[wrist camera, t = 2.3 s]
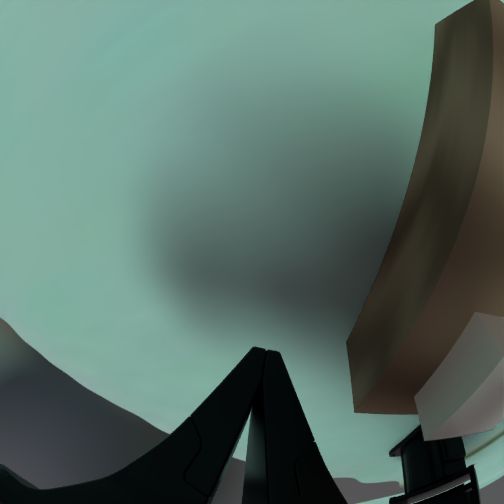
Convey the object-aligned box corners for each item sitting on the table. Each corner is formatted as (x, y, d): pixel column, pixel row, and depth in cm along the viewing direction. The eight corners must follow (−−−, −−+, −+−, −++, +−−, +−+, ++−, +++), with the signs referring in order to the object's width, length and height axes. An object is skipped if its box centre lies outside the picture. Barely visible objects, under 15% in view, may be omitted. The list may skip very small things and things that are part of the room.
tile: (479, 395, 9) (492, 429, 7) (413, 397, 10) (424, 440, 8) (533, 322, 7) (556, 356, 5) (475, 311, 8) (503, 356, 5)
